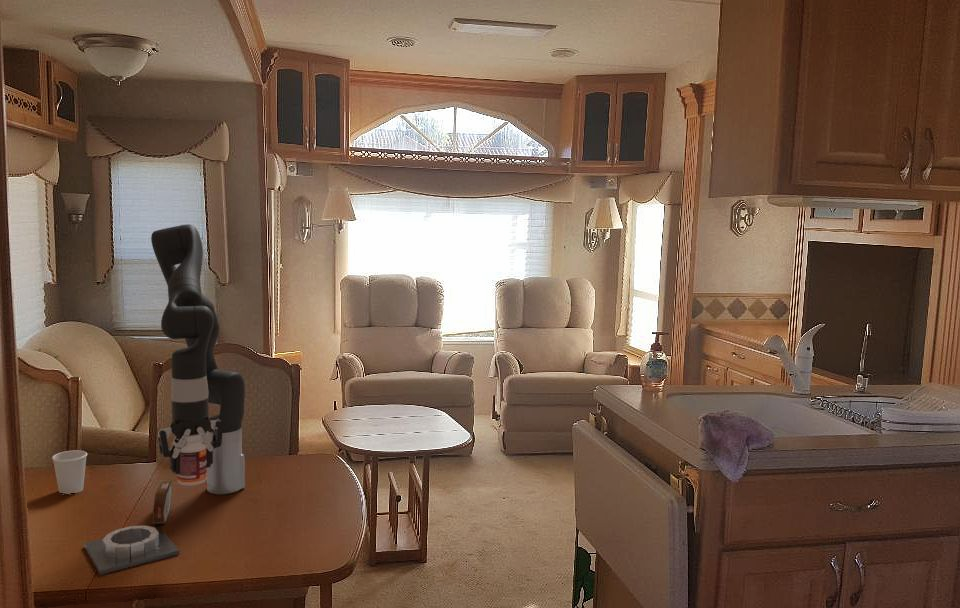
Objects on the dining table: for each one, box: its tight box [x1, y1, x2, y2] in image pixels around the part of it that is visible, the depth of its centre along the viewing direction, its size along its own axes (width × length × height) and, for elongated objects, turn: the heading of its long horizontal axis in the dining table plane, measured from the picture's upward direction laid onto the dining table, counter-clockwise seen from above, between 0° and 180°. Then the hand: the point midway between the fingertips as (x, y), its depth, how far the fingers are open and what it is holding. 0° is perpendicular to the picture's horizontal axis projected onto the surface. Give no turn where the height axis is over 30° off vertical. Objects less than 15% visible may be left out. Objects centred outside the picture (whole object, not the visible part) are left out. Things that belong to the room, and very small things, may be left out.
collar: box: [83, 525, 180, 576], centre depth 163 cm, size 16×16×4 cm
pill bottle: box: [176, 434, 207, 486], centre depth 160 cm, size 6×6×11 cm
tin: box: [152, 479, 173, 525], centre depth 181 cm, size 15×3×8 cm, turn 16°
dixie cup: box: [51, 449, 88, 495], centre depth 196 cm, size 8×8×10 cm
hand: (191, 469), depth 161 cm, fingers closed on pill bottle, 6 cm apart
